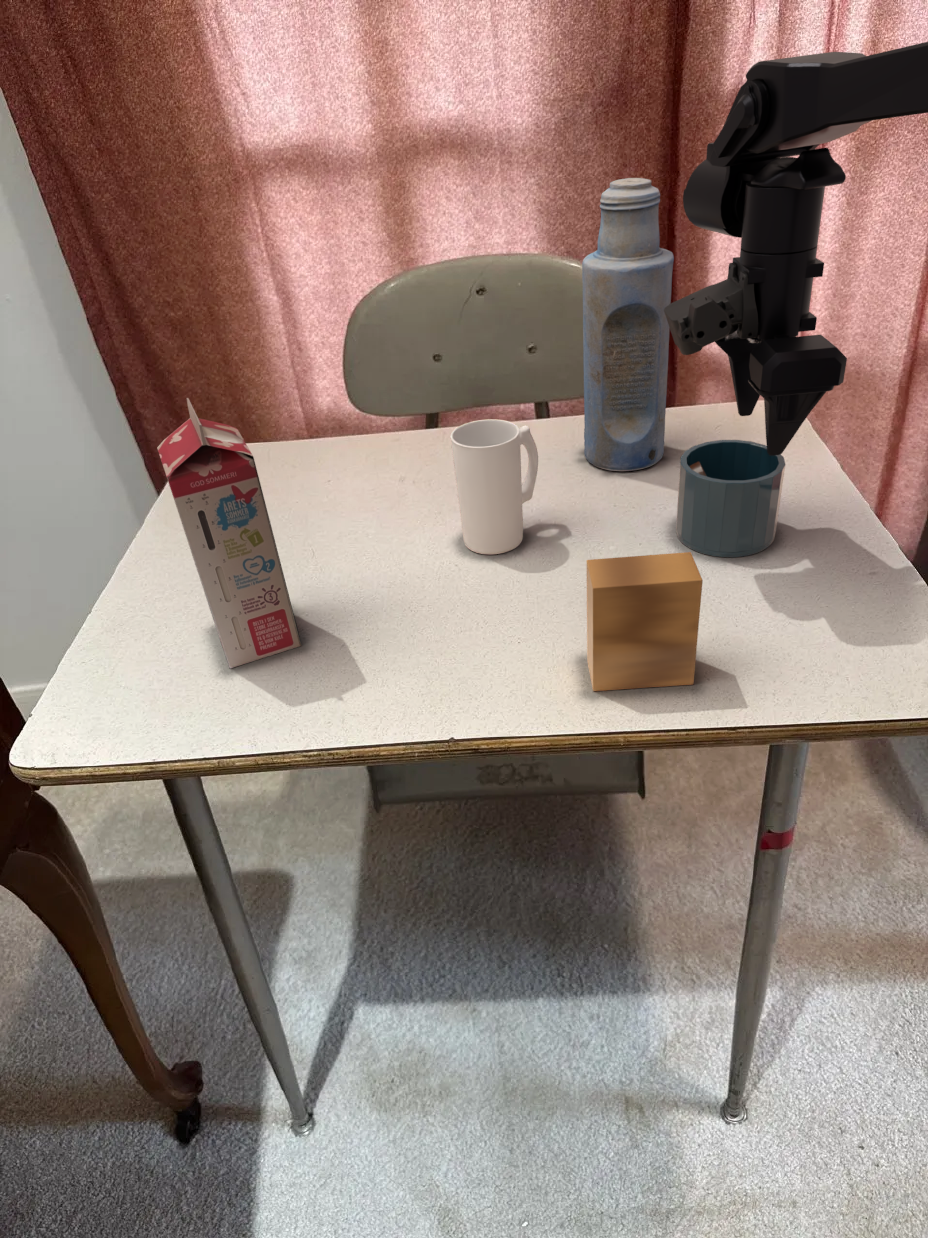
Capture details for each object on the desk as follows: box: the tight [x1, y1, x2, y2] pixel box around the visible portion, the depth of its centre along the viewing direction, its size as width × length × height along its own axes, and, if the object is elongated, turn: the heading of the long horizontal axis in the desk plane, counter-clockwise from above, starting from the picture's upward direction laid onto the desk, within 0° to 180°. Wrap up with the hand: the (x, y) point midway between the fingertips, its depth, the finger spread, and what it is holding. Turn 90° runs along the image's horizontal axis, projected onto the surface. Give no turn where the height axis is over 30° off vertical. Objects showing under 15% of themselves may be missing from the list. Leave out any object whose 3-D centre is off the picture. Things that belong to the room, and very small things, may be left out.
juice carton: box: [156, 397, 303, 669], centre depth 71 cm, size 7×7×22 cm
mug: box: [449, 418, 539, 555], centre depth 85 cm, size 10×7×12 cm, turn 129°
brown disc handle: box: [689, 461, 706, 476], centre depth 83 cm, size 7×3×1 cm
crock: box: [675, 439, 786, 558], centre depth 83 cm, size 10×10×8 cm
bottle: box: [581, 177, 675, 472], centre depth 93 cm, size 10×10×30 cm
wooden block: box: [586, 551, 703, 692], centre depth 66 cm, size 8×4×10 cm, turn 90°
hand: (758, 433), depth 75 cm, fingers open, 9 cm apart
